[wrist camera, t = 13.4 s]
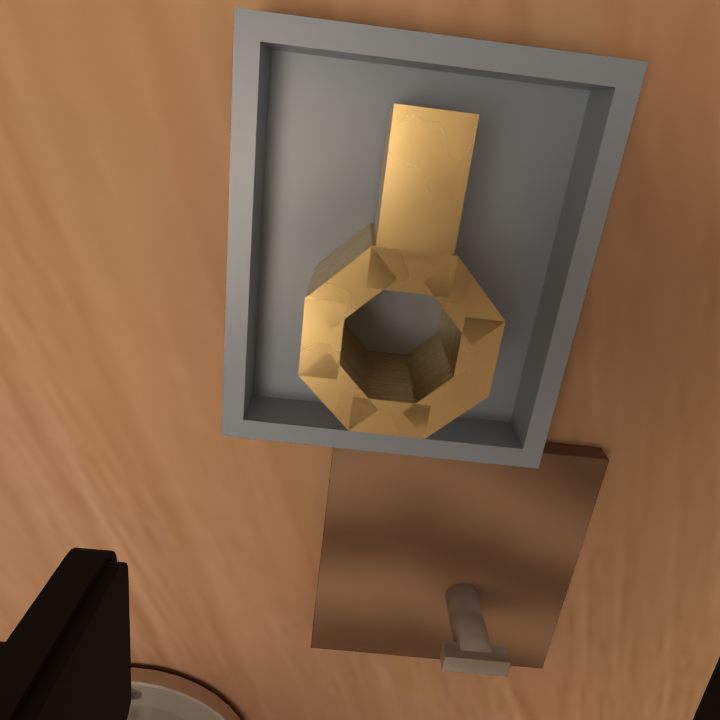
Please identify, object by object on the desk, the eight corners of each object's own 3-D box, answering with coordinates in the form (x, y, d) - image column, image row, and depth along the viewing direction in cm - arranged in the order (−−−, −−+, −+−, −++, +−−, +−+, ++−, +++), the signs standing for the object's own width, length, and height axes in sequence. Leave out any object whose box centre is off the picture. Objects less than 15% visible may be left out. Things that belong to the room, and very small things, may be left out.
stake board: (536, 652, 31) (567, 744, 26) (312, 631, 31) (303, 722, 26) (600, 448, 26) (650, 517, 22) (336, 420, 26) (330, 485, 21)
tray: (519, 431, 26) (538, 468, 23) (237, 401, 26) (221, 435, 23) (610, 69, 21) (648, 61, 18) (252, 23, 20) (234, 7, 17)
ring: (458, 389, 24) (478, 444, 20) (305, 372, 24) (294, 425, 20) (512, 122, 21) (549, 123, 16) (330, 99, 20) (321, 94, 16)
